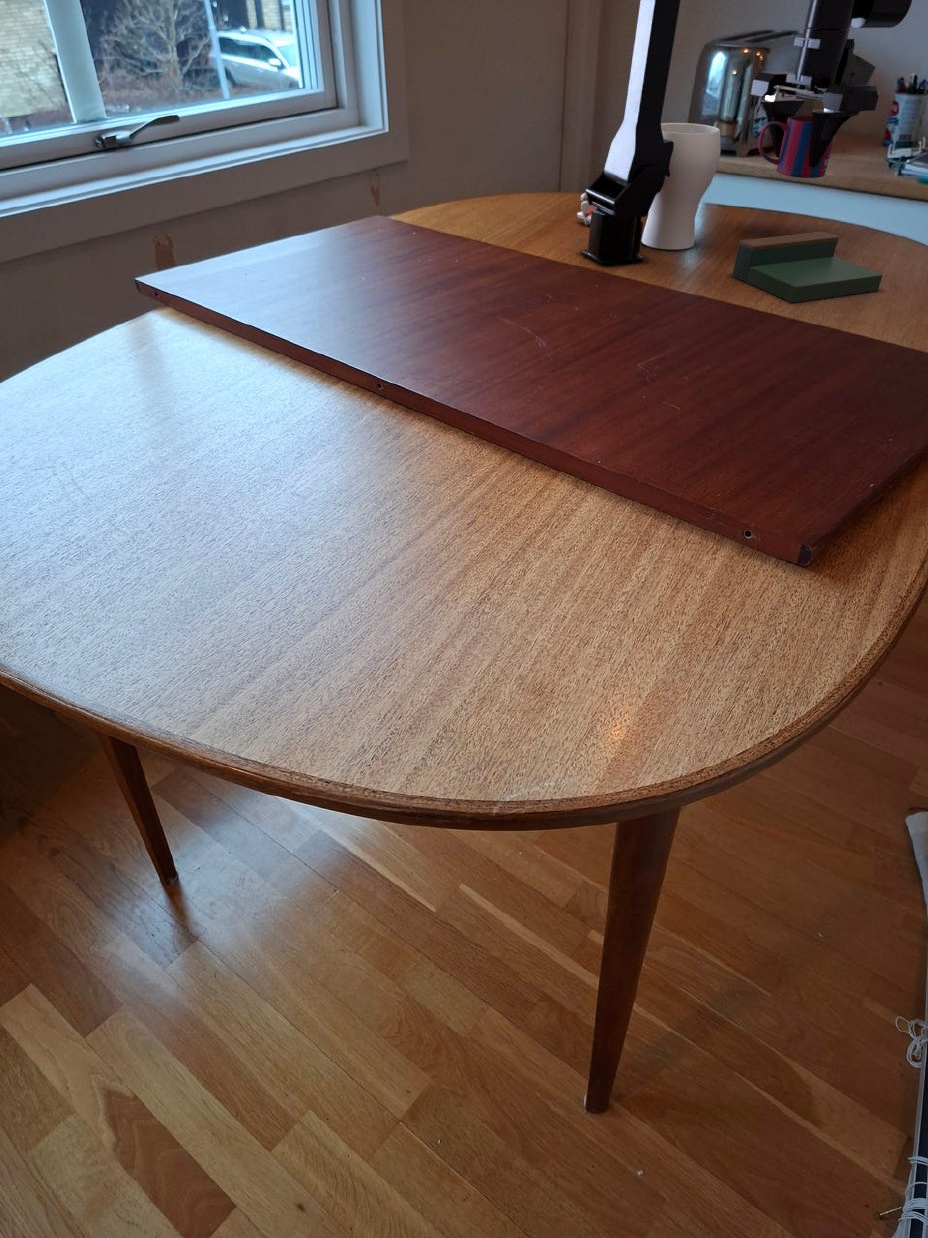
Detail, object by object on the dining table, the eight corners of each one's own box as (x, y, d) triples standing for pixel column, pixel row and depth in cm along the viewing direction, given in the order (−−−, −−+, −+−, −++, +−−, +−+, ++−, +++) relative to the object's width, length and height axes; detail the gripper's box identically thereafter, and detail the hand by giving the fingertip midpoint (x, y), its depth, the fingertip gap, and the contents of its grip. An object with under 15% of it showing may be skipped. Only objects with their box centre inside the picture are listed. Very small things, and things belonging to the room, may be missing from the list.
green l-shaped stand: (791, 303, 105) (800, 265, 102) (732, 275, 114) (739, 240, 111) (878, 290, 109) (889, 254, 107) (814, 265, 118) (823, 230, 115)
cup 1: (617, 241, 126) (630, 126, 117) (660, 230, 132) (676, 119, 123) (675, 257, 120) (694, 137, 111) (718, 244, 126) (739, 129, 117)
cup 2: (825, 179, 119) (839, 123, 114) (751, 173, 121) (762, 119, 117) (824, 170, 124) (837, 117, 119) (753, 165, 126) (764, 112, 122)
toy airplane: (635, 218, 138) (641, 174, 134) (626, 232, 131) (632, 186, 127) (580, 213, 140) (584, 170, 136) (568, 226, 133) (572, 181, 129)
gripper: (928, 32, 107) (888, 170, 117) (824, 23, 120) (795, 147, 130) (861, 33, 103) (825, 175, 113) (761, 23, 117) (737, 151, 126)
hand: (796, 161), depth 121 cm, fingers closed on cup 2, 7 cm apart
